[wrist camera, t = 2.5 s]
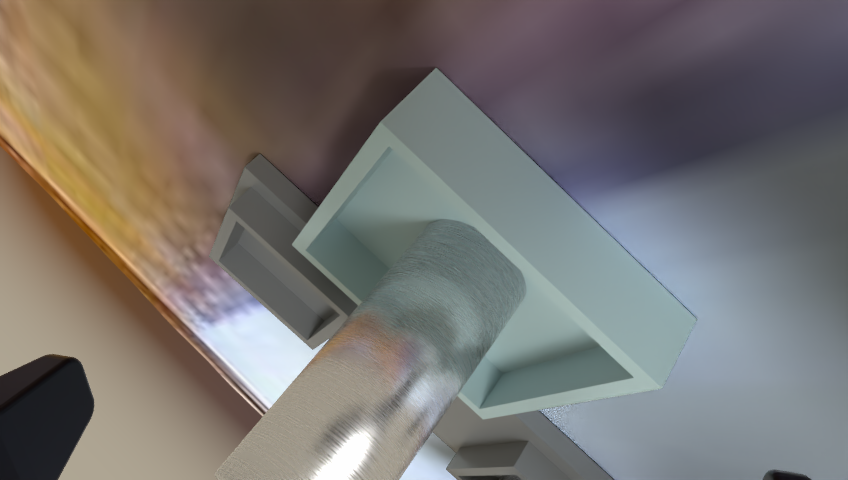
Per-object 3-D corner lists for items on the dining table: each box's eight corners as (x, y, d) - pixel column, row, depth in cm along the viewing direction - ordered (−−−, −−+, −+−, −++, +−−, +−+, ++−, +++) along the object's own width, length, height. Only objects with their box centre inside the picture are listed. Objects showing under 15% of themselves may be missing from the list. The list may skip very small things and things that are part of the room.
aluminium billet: (549, 291, 23) (353, 582, 18) (487, 318, 27) (311, 564, 22) (454, 202, 23) (225, 472, 17) (406, 242, 27) (206, 473, 21)
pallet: (673, 534, 33) (653, 581, 32) (558, 523, 42) (538, 560, 40) (259, 153, 31) (220, 187, 29) (229, 225, 39) (197, 254, 38)
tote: (697, 319, 21) (662, 388, 20) (515, 370, 31) (483, 419, 29) (436, 67, 20) (380, 121, 19) (333, 202, 30) (291, 244, 28)
